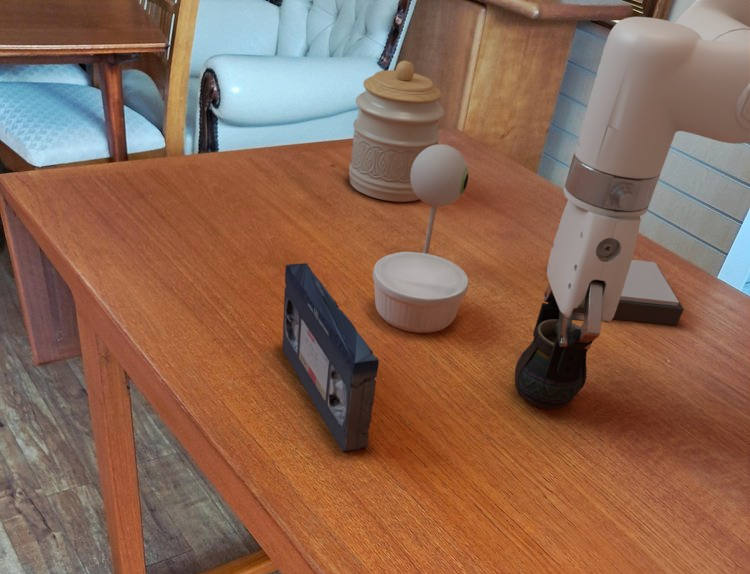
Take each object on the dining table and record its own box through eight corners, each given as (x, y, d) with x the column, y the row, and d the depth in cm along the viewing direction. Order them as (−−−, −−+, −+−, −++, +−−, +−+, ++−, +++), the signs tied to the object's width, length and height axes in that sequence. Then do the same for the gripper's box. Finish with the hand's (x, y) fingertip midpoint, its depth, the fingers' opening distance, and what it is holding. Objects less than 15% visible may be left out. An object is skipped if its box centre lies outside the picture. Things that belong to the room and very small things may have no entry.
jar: (330, 178, 122) (341, 51, 110) (390, 165, 130) (406, 45, 118) (387, 210, 116) (405, 79, 104) (447, 194, 123) (470, 70, 111)
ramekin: (391, 344, 89) (398, 302, 85) (353, 295, 96) (357, 255, 92) (477, 333, 93) (487, 292, 89) (434, 287, 100) (441, 247, 96)
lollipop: (442, 280, 102) (466, 162, 92) (390, 266, 103) (407, 147, 93) (456, 258, 107) (479, 144, 97) (406, 245, 108) (424, 131, 98)
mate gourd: (520, 419, 81) (547, 337, 74) (498, 375, 86) (522, 294, 79) (585, 417, 83) (617, 336, 76) (559, 374, 88) (587, 294, 81)
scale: (651, 281, 109) (659, 260, 107) (676, 325, 100) (686, 304, 98) (553, 270, 108) (559, 249, 106) (570, 314, 99) (577, 292, 97)
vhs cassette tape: (280, 349, 85) (284, 262, 79) (306, 346, 86) (313, 261, 80) (338, 455, 73) (349, 364, 67) (367, 450, 74) (381, 360, 68)
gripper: (681, 231, 63) (608, 412, 75) (626, 154, 76) (572, 319, 88) (590, 220, 62) (531, 404, 74) (550, 144, 75) (506, 312, 87)
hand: (554, 357), depth 81 cm, fingers closed on mate gourd, 6 cm apart
